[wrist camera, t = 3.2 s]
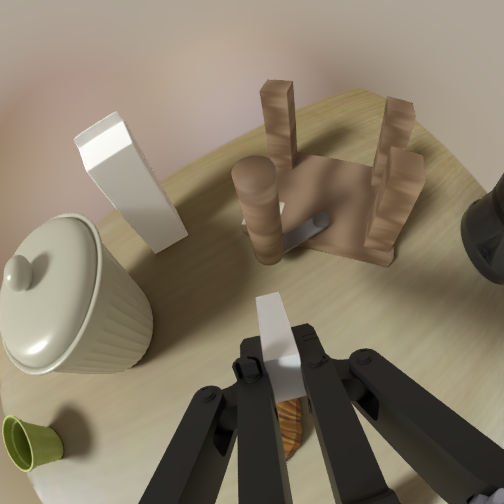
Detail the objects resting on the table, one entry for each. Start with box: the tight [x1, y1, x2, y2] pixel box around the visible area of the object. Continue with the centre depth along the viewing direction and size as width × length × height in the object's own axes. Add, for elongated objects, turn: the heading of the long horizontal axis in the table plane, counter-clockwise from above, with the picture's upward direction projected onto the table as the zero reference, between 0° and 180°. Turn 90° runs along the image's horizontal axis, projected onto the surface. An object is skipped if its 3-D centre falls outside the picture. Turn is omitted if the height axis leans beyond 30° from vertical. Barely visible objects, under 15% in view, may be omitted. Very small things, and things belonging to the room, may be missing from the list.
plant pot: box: [3, 415, 63, 472], centre depth 23 cm, size 9×9×9 cm
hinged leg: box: [231, 156, 329, 265], centre depth 28 cm, size 11×4×15 cm, turn 121°
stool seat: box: [241, 80, 426, 267], centre depth 33 cm, size 21×16×16 cm
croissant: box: [275, 398, 303, 460], centre depth 24 cm, size 14×7×5 cm, turn 161°
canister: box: [0, 213, 154, 375], centre depth 26 cm, size 18×18×21 cm
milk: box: [74, 112, 188, 254], centre depth 33 cm, size 6×6×22 cm
